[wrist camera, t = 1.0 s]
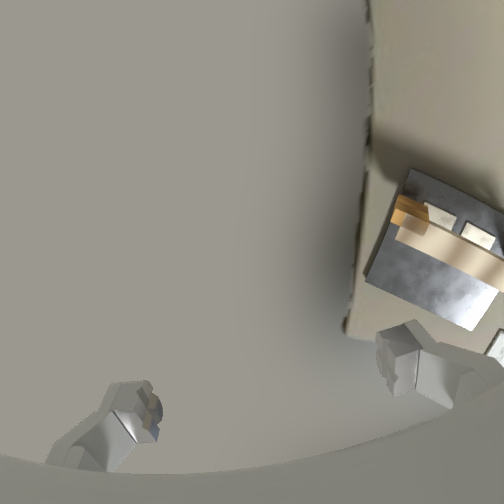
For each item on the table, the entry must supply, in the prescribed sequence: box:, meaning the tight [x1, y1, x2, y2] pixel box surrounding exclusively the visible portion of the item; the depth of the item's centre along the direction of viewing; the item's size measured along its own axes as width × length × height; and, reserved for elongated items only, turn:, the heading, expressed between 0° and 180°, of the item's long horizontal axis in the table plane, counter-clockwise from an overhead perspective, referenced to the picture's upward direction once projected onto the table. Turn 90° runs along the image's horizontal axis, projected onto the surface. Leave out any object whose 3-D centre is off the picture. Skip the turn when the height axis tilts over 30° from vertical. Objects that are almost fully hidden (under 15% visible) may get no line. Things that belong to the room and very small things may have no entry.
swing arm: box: [390, 194, 504, 293], centre depth 39 cm, size 20×4×8 cm, turn 78°
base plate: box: [365, 168, 504, 331], centre depth 42 cm, size 22×24×12 cm
